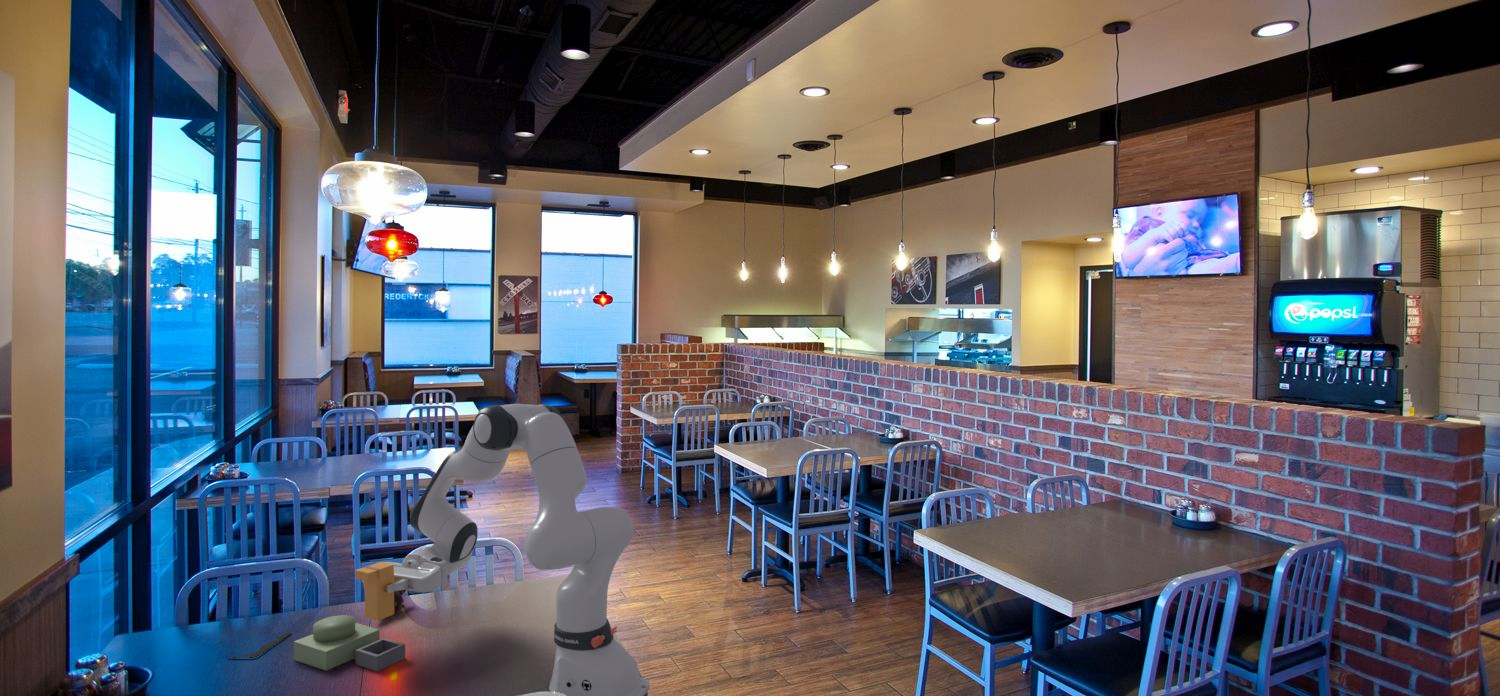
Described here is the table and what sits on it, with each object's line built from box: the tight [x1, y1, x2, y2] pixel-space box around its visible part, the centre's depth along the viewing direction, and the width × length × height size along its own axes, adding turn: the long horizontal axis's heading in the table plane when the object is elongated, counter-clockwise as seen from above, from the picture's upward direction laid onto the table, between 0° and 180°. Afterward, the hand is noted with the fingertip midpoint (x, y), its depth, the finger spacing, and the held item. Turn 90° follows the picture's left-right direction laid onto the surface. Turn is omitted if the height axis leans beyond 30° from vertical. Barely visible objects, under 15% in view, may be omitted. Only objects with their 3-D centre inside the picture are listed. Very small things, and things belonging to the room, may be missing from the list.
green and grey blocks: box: [293, 614, 406, 672], centre depth 183 cm, size 23×14×8 cm, turn 63°
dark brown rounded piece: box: [394, 590, 407, 614], centre depth 210 cm, size 7×7×15 cm
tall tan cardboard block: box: [354, 561, 395, 622], centre depth 180 cm, size 4×7×12 cm
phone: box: [227, 631, 292, 658], centre depth 190 cm, size 7×1×15 cm
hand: (376, 587), depth 180 cm, fingers closed on tall tan cardboard block, 5 cm apart
